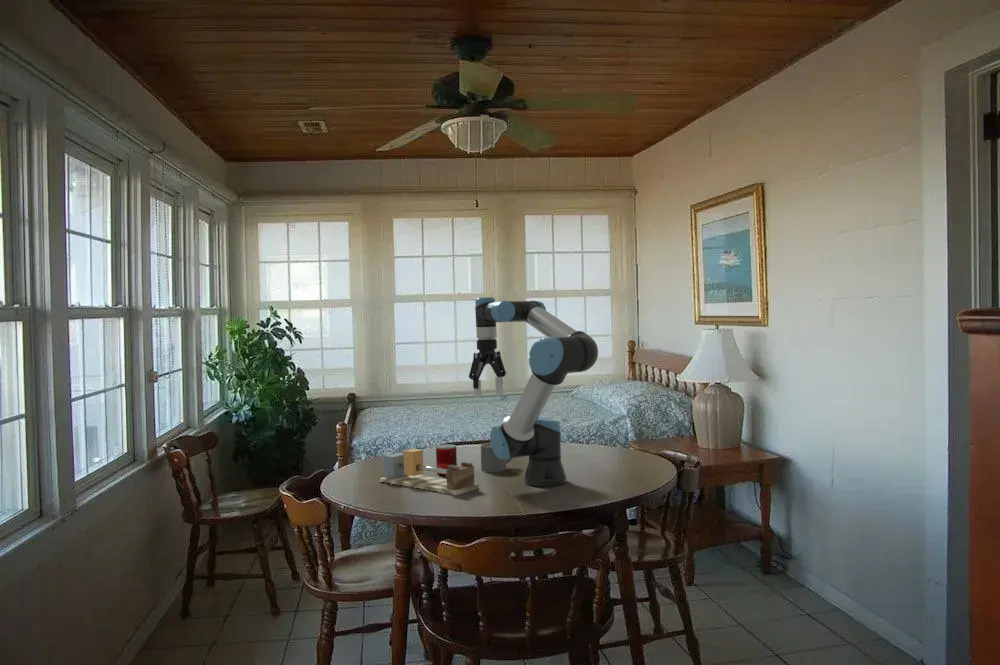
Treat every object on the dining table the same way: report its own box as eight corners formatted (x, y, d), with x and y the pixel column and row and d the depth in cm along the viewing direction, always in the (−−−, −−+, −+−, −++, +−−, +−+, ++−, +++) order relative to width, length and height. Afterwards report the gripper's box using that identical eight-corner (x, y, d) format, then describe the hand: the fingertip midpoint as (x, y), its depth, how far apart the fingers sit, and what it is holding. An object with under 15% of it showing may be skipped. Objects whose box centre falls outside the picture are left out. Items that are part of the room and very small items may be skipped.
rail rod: (459, 477, 250) (459, 466, 250) (452, 479, 247) (452, 468, 247) (402, 468, 268) (401, 458, 268) (394, 470, 265) (394, 460, 265)
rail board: (478, 488, 250) (477, 462, 250) (456, 495, 241) (455, 468, 240) (402, 476, 273) (402, 452, 273) (379, 482, 264) (379, 457, 264)
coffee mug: (484, 473, 275) (483, 447, 275) (479, 468, 285) (478, 443, 285) (517, 470, 278) (516, 445, 278) (511, 465, 288) (510, 441, 288)
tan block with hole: (423, 473, 262) (422, 449, 262) (413, 476, 258) (413, 452, 258) (413, 472, 265) (413, 448, 265) (404, 474, 261) (403, 450, 261)
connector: (407, 475, 268) (406, 454, 268) (393, 478, 263) (393, 457, 263) (398, 473, 271) (397, 452, 271) (384, 477, 266) (383, 455, 266)
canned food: (454, 476, 271) (453, 447, 271) (434, 476, 273) (433, 447, 272) (459, 472, 278) (458, 444, 278) (439, 471, 280) (439, 444, 280)
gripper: (497, 338, 276) (499, 392, 276) (457, 340, 256) (460, 398, 256) (513, 337, 272) (515, 392, 272) (474, 339, 252) (476, 399, 252)
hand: (488, 395), depth 264 cm, fingers open, 13 cm apart
